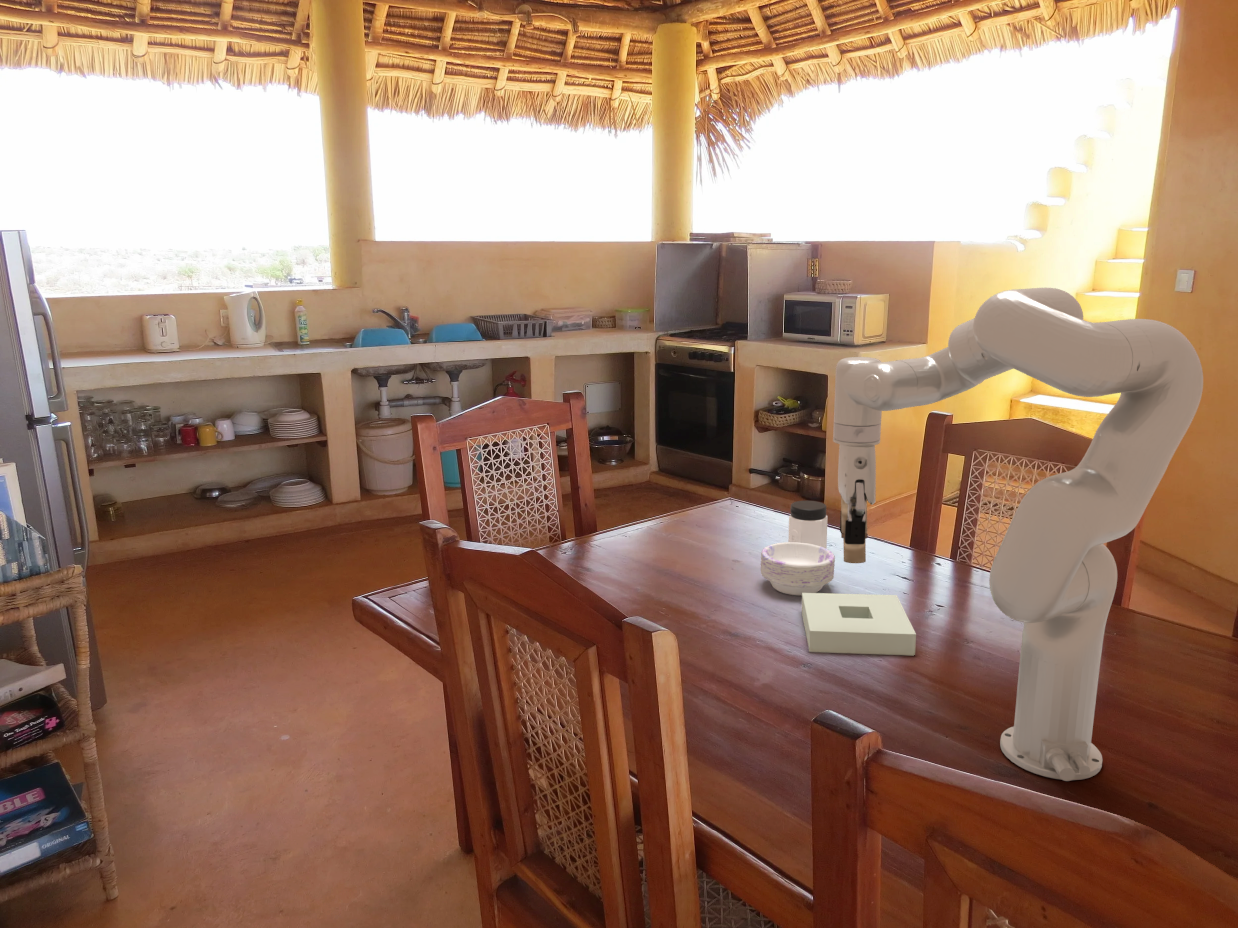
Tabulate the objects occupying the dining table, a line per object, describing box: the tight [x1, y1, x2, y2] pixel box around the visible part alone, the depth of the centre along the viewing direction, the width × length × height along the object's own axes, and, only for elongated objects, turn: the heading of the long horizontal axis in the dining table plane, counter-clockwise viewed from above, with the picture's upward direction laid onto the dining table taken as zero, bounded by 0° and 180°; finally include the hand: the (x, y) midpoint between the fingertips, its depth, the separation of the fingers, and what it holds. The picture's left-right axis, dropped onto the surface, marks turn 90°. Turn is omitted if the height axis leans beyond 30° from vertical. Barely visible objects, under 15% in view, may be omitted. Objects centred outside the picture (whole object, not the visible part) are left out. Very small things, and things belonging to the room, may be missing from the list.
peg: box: [840, 495, 869, 564], centre depth 144 cm, size 4×4×12 cm
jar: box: [787, 500, 829, 549], centre depth 200 cm, size 9×8×12 cm
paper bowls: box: [760, 541, 836, 597], centre depth 180 cm, size 15×15×8 cm
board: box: [801, 592, 917, 657], centre depth 158 cm, size 18×18×4 cm
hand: (852, 537), depth 144 cm, fingers closed on peg, 4 cm apart
